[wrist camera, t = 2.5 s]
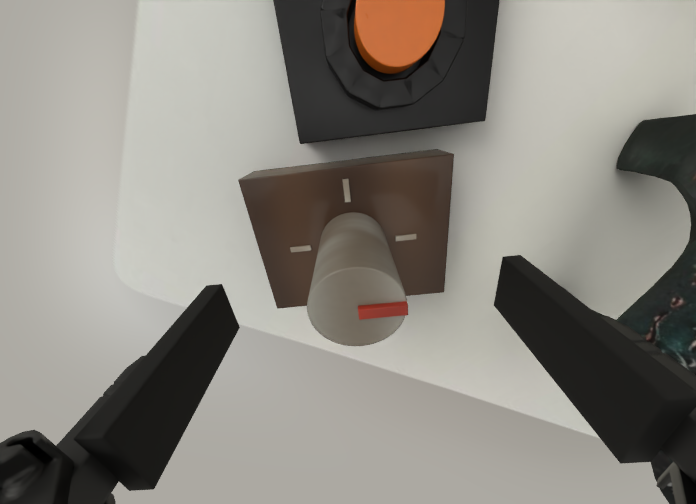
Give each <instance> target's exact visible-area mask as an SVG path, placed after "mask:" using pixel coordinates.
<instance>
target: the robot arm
mask: <svg viewBox="0 0 696 504" xmlns="http://www.w3.org/2000/svg"><path fill="white" fill-rule="evenodd" d="M494 306H495V307H496V308H497V310H498V311H499V312H500V313H501V315H502V316H503V317H504V318H505V320H506V321H507V322H508V323H509V325H510V326H511V327H512V328H513V330H514V331H515V332H516V333H517V335H518V336H519V337H520V338H521V340H522V341H523V342H524V343H525V345H526V346H527V347H528V348H529V350H530V351H531V352H532V353H533V355H534V356H535V357H536V358H537V360H538V361H539V362H540V363H541V365H542V366H543V367H544V368H545V370H546V371H547V372H548V373H549V375H550V376H551V377H552V378H553V380H554V381H555V382H556V383H557V385H558V386H559V387H560V388H561V390H562V391H563V392H564V393H565V395H566V396H567V397H568V398H569V400H570V401H571V402H572V403H573V405H574V406H575V407H576V408H577V410H578V411H579V412H580V413H581V415H582V416H583V417H584V418H585V420H586V421H587V422H588V423H589V425H590V426H591V427H592V428H593V430H594V431H595V432H596V433H597V435H598V436H599V437H600V438H601V440H602V441H603V442H604V443H605V445H606V446H607V447H608V448H609V450H610V451H611V452H612V453H613V454H614V456H615V457H616V458H617V459H618V461H619V462H620V463H634V462H635V463H636V462H651V461H652V459H653V458H654V457H655V456H656V455H657V453H658V452H659V451H660V450H661V449H662V450H663V451H664V452H665V454H666V455H667V456H668V457H669V458H670V459H671V460H672V461H673V463H672V464H671V465H670V466H669V467H668V468H667V469H666V470H665V472H664V473H663V474H662V475H661V476H660V477H659V478H658V481H657V487H659V488H661V489H664V488H665V487H666V486H667V485H668V484H669V483H670V482H672V487H673V493H672V494H673V495H674V498H675V504H696V375H695V374H694V373H692V372H691V371H689V370H688V369H687V368H685V367H684V366H683V365H681V364H680V363H678V362H677V361H676V360H674V359H673V358H672V357H670V356H669V355H667V354H666V353H662V351H661V349H659V348H658V347H656V346H655V345H654V344H652V343H651V342H647V341H646V339H645V338H644V337H643V336H641V335H640V334H638V333H637V332H636V331H634V330H633V329H632V328H630V327H629V326H627V325H625V324H623V323H621V322H619V321H617V320H614V319H612V318H610V317H608V316H603V317H600V316H599V315H597V314H596V313H595V312H593V311H592V310H591V309H590V308H588V307H587V306H586V305H584V304H583V303H582V302H580V301H579V300H578V299H577V298H575V297H574V296H573V295H571V294H570V293H569V292H567V291H566V290H565V289H564V288H562V287H561V286H560V285H558V284H557V283H556V282H554V281H553V280H552V279H551V278H549V277H548V276H547V275H545V274H544V273H543V272H541V271H540V270H539V269H538V268H536V267H535V266H534V265H532V264H531V263H530V262H528V261H527V260H526V259H525V258H523V257H522V256H521V255H517V256H506V257H503V259H502V264H501V269H500V275H499V280H498V286H497V291H496V297H495V302H494ZM238 329H239V325H238V322H237V320H236V318H235V315H234V313H233V310H232V308H231V305H230V303H229V300H228V298H227V295H226V293H225V291H224V288H223V286H222V284H219V285H209V286H206V287H205V288H204V289H203V290H202V291H201V293H200V294H199V295H198V296H197V297H196V298H195V300H194V301H193V302H192V303H191V304H190V305H189V306H188V308H187V309H186V310H185V311H184V312H183V313H182V315H181V316H180V317H179V318H178V319H177V320H176V322H175V323H174V324H173V325H172V326H171V328H169V330H168V331H167V332H166V333H165V334H164V335H163V336H162V338H161V339H160V340H159V341H158V342H157V343H156V345H155V346H154V347H153V348H152V349H151V350H150V351H149V353H148V354H147V355H146V356H142V357H140V358H139V359H138V360H136V361H135V362H134V363H133V364H131V365H130V366H129V367H127V368H126V369H125V370H124V372H123V373H122V374H121V375H120V376H119V377H118V378H117V379H116V381H114V384H113V385H111V386H110V387H109V388H108V389H107V390H106V391H105V392H104V394H103V397H100V398H99V399H98V400H97V401H96V403H95V404H94V405H93V406H92V407H91V408H90V409H89V410H88V411H87V412H86V414H85V415H84V416H83V417H82V418H81V419H80V420H79V421H78V422H77V424H76V425H75V426H74V427H73V428H72V429H71V430H70V432H68V433H67V435H66V436H65V437H64V438H63V439H62V440H61V441H60V442H59V443H58V444H57V446H55V445H54V444H53V443H52V442H51V441H50V440H48V439H47V438H46V437H45V436H44V435H42V434H41V433H40V432H38V431H35V430H31V431H25V432H22V433H19V434H17V435H15V436H12V437H10V438H8V439H6V440H5V441H3V442H1V443H0V504H115V499H114V496H113V494H111V492H112V491H113V489H114V488H115V486H116V484H117V483H118V481H119V482H121V483H122V484H123V485H124V486H125V487H126V488H127V489H128V490H129V491H131V490H148V489H154V488H155V486H156V484H157V482H158V480H159V479H160V477H161V475H162V473H163V471H164V469H165V467H166V465H167V464H168V461H169V460H170V458H171V456H172V454H173V452H174V450H175V448H176V447H177V445H178V443H179V441H180V439H181V437H182V435H183V433H184V431H185V429H186V428H187V426H188V424H189V422H190V420H191V418H192V416H193V414H194V413H195V411H196V409H197V407H198V405H199V403H200V401H201V399H202V397H203V395H204V394H205V391H206V390H207V388H208V386H209V384H210V382H211V380H212V379H213V377H214V375H215V373H216V371H217V369H218V367H219V365H220V363H221V362H222V360H223V358H224V356H225V354H226V352H227V350H228V348H229V346H230V344H231V343H232V341H233V339H234V337H235V335H236V333H237V331H238Z"/></svg>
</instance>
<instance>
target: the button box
mask: <svg viewBox="0 0 696 504" xmlns="http://www.w3.org/2000/svg"><path fill="white" fill-rule="evenodd" d="M274 6H275V11H276V17H277V22H278V27H279V33H280V38H281V44H282V49H283V55H284V60H285V65H286V71H287V76H288V82H289V87H290V93H291V98H292V103H293V109H294V114H295V120H296V125H297V130H298V136H299V141H300V144H304V143H312V142H320V141H328V140H336V139H344V138H352V137H360V136H368V135H376V134H384V133H392V132H400V131H408V130H416V129H424V128H432V127H440V126H448V125H456V124H464V123H472V122H480V121H485V118H486V110H487V101H488V93H489V84H490V76H491V67H492V59H493V50H494V42H495V33H496V25H497V16H498V8H499V0H445V11H444V18H443V22H442V26H441V29H440V32H439V34H438V36H437V38H436V40H435V42H434V44H433V45H432V47H431V48H430V49H429V50H428V52H427V53H426V54H425V55H424V56H423V57H422V58H420V59H419V60H418V61H417V62H416V63H415V64H413V65H412V66H411V67H409V68H408V69H406V70H404V71H402V72H399V73H395V74H386V73H381V72H379V71H376V70H375V69H373V68H371V67H370V66H369V65H368V64H367V63H366V62H365V60H364V59H363V58H362V56H361V54H360V52H359V50H358V48H357V45H356V41H355V35H354V18H355V7H356V0H274Z"/></svg>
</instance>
